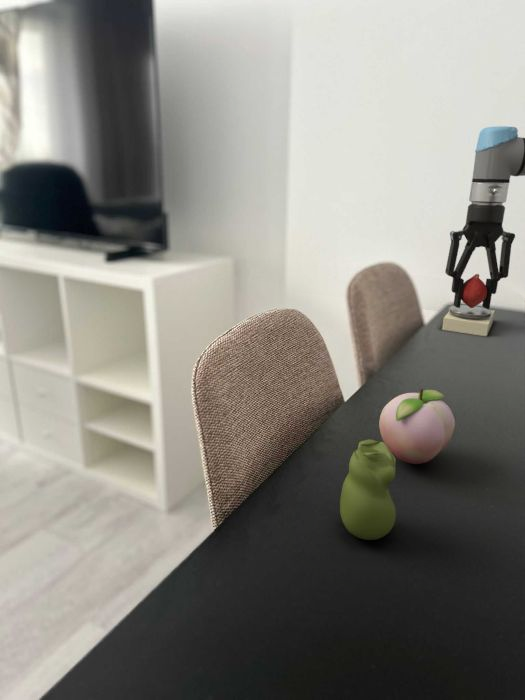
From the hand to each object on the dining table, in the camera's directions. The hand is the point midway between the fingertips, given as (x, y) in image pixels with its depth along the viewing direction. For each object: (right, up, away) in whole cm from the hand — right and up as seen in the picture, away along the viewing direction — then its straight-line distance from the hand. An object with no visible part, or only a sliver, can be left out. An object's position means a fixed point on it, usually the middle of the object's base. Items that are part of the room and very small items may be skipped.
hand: (471, 306), depth 119 cm
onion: (0, 0, 0) cm, 0 cm away
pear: (-38, -28, -68) cm, 84 cm away
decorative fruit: (-30, -24, -56) cm, 68 cm away
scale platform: (0, -1, +1) cm, 2 cm away
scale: (0, -4, +3) cm, 5 cm away
